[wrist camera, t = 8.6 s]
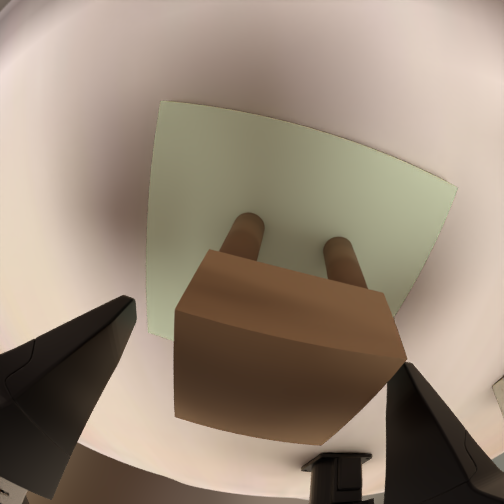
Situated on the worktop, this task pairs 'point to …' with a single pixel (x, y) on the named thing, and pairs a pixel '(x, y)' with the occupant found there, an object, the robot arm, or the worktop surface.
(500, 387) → the supplement box
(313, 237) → the sage mat
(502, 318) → the worktop surface
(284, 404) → the toy stool
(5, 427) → the robot arm
